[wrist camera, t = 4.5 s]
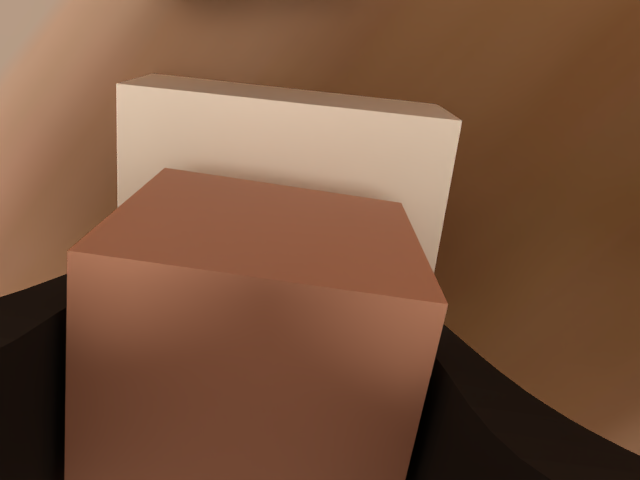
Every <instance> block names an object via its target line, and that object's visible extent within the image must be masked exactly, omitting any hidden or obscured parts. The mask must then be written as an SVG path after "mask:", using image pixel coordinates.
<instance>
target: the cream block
mask: <svg viewBox="0 0 640 480" xmlns="http://www.w3.org/2000/svg"><path fill="white" fill-rule="evenodd" d="M116 103H117V207H119V206H120V205H122V204H123V203H124V202H125V201H126V200H127V199H129V198H130V197H131V196H132V195H133V194H134V193H136V192H137V191H138V190H139V189H140V188H142V187H143V186H144V185H145V184H146V183H147V182H149V181H150V180H151V179H152V178H153V177H154V176H156V175H157V174H158V173H159V172H160V171H162V170H163V169H164V168H171V169H177V170H184V171H191V172H198V173H204V174H211V175H218V176H224V177H231V178H238V179H245V180H251V181H258V182H265V183H272V184H278V185H285V186H292V187H298V188H305V189H312V190H319V191H325V192H332V193H339V194H346V195H352V196H359V197H366V198H372V199H379V200H386V201H393V202H399V203H402V206H403V208H404V210H405V212H406V214H407V216H408V219H409V221H410V223H411V225H412V227H413V229H414V232H415V234H416V236H417V238H418V240H419V242H420V245H421V247H422V249H423V251H424V253H425V255H426V257H427V260H428V262H429V264H430V266H431V268H432V270H433V273H434V271H435V265H436V260H437V254H438V249H439V244H440V238H441V233H442V227H443V222H444V216H445V211H446V206H447V200H448V195H449V189H450V184H451V178H452V173H453V168H454V162H455V157H456V151H457V146H458V140H459V135H460V130H461V124H462V120H460V119H459V118H457V117H456V116H454V115H453V114H451V113H450V112H448V111H447V110H445V109H444V108H442V107H441V106H439V105H438V104H431V103H422V102H413V101H404V100H394V99H385V98H376V97H367V96H357V95H348V94H339V93H330V92H321V91H311V90H302V89H293V88H284V87H275V86H265V85H256V84H247V83H238V82H228V81H219V80H210V79H201V78H192V77H182V76H173V75H164V74H155V73H153V74H149V75H145V76H142V77H138V78H135V79H131V80H127V81H124V82H120V83H116Z"/></svg>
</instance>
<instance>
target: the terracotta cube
mask: <svg viewBox="0 0 640 480" xmlns="http://www.w3.org/2000/svg"><path fill="white" fill-rule="evenodd" d="M447 307H448V303H447V301H446V299H445V296H444V294H443V292H442V290H441V288H440V286H439V283H438V281H437V279H436V277H435V275H434V273H433V270H432V268H431V266H430V264H429V262H428V260H427V257H426V255H425V253H424V251H423V249H422V247H421V245H420V242H419V240H418V238H417V236H416V234H415V232H414V229H413V227H412V225H411V223H410V221H409V219H408V216H407V214H406V212H405V210H404V208H403V206H402V203H399V202H393V201H386V200H379V199H372V198H366V197H359V196H352V195H346V194H339V193H332V192H325V191H319V190H312V189H305V188H298V187H292V186H285V185H278V184H272V183H265V182H258V181H251V180H245V179H238V178H231V177H224V176H218V175H211V174H204V173H198V172H191V171H184V170H177V169H171V168H164V169H163V170H162V171H160V172H159V173H158V174H157V175H156V176H154V177H153V178H152V179H151V180H150V181H149V182H147V183H146V184H145V185H144V186H143V187H142V188H140V189H139V190H138V191H137V192H136V193H134V194H133V195H132V196H131V197H130V198H129V199H127V200H126V201H125V202H124V203H123V204H122V205H120V206H119V207H118V208H117V209H116V210H114V211H113V212H112V213H111V214H110V215H109V216H107V217H106V218H105V219H104V220H103V221H102V222H100V223H99V224H98V225H97V226H96V227H95V228H93V229H92V230H91V231H90V232H89V233H87V234H86V235H85V236H84V237H83V238H82V239H80V240H79V241H78V242H77V243H76V244H75V245H73V246H72V247H71V248H70V249H69V250H67V317H66V393H65V469H64V480H405V479H406V475H407V471H408V467H409V462H410V458H411V454H412V450H413V446H414V442H415V438H416V434H417V430H418V426H419V422H420V418H421V413H422V409H423V405H424V401H425V397H426V393H427V389H428V385H429V381H430V377H431V373H432V369H433V364H434V360H435V356H436V352H437V348H438V344H439V340H440V336H441V332H442V328H443V324H444V320H445V315H446V311H447Z"/></svg>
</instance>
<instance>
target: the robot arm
mask: <svg viewBox="0 0 640 480" xmlns="http://www.w3.org/2000/svg"><path fill="white" fill-rule="evenodd" d="M66 317H67V274H65V275H63V276H60V277H57V278H55V279H52V280H49V281H46V282H44V283H41V284H38V285H36V286H33V287H30V288H27V289H24V290H21V291H18V292H15V293H12V294H9V295H6V296H3V297H0V480H64V469H65V393H66ZM405 480H640V456H639V455H637V454H635V453H633V452H631V451H629V450H626V449H624V448H622V447H620V446H618V445H617V444H615V443H613V442H611V441H609V440H607V439H605V438H603V437H601V436H599V435H597V434H595V433H593V432H591V431H590V430H588V429H586V428H584V427H582V426H581V425H579V424H577V423H575V422H574V421H572V420H570V419H568V418H567V417H565V416H564V415H562V414H560V413H559V412H557V411H556V410H554V409H552V408H551V407H549V406H548V405H546V404H544V403H543V402H541V401H540V400H538V399H537V398H535V397H534V396H532V395H531V394H529V393H528V392H526V391H525V390H524V389H522V388H521V387H520V386H518V385H517V384H516V383H514V382H513V381H512V380H510V379H509V378H508V377H506V376H505V375H504V374H502V373H501V372H500V371H498V370H497V369H496V368H495V367H493V366H492V365H491V364H490V363H488V362H487V361H486V360H485V359H484V358H482V357H481V356H480V355H479V354H478V353H476V352H475V351H474V350H473V349H472V348H471V347H469V346H468V345H467V344H466V343H465V342H464V341H462V340H461V339H460V338H459V337H458V336H457V335H456V334H454V333H453V332H452V331H451V330H450V329H449V328H447V327H446V326H445V325H444V324H443V328H442V332H441V336H440V340H439V344H438V348H437V352H436V356H435V360H434V364H433V369H432V373H431V377H430V381H429V385H428V389H427V393H426V397H425V401H424V405H423V409H422V413H421V418H420V422H419V426H418V430H417V434H416V438H415V442H414V446H413V450H412V454H411V458H410V462H409V467H408V471H407V475H406V479H405Z"/></svg>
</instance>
